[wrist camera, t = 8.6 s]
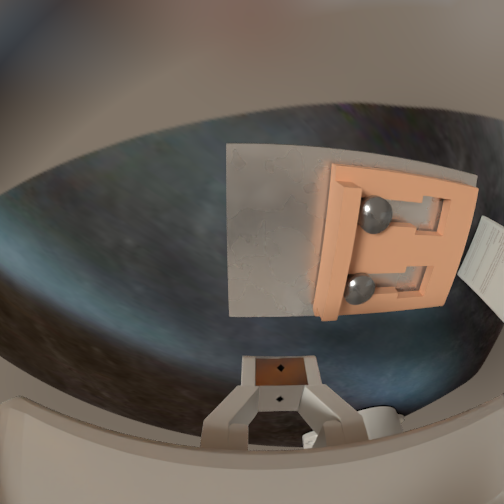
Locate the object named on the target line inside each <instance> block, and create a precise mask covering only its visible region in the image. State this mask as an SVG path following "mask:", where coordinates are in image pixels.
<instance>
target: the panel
mask: <svg viewBox="0 0 504 504" xmlns="http://www.w3.org/2000/svg"><path fill="white" fill-rule="evenodd" d="M478 190H479V189H478V188H476V187H474V186H471V185H467V184H463V183H458V182H454V181H449V180H444V179H439V178H434V177H429V176H424V175H418V174H412V173H406V172H400V171H393V170H386V169H379V168H371V167H363V166H354V165H345V164H334V163H332V167H331V179H330V189H329V199H328V208H327V217H326V225H325V233H324V240H323V248H322V255H321V262H320V268H319V275H318V281H317V287H316V293H315V299H314V304H313V312H314V315H315V316H320V317H321V320H322V321H335V320H337V318H338V315H351V314H366V313H378V312H390V311H400V310H410V309H419V308H428V307H436V306H443V305H444V303H445V301H446V298H447V296H448V293H449V291H450V288H451V286H452V283H453V280H454V277H455V275H456V272H457V269H458V266H459V263H460V260H461V257H462V254H463V251H464V248H465V244H466V241H467V237H468V234H469V230H470V226H471V222H472V218H473V214H474V210H475V205H476V200H477V195H478ZM371 195H377V196H380V197H382V198H384V199H387V200H398V201H407V202H416V203H422V200H423V196H430V197H437V198H443V199H444V201H443V206H442V211H441V216H440V220H439V224H438V228H437V232H435V231H418V230H416V229H417V228H416V227H415V226H414V225H412V224H411V223H402V222H390V224H389V226H388V227H387V228H386V229H385V230H384V231H382V232H380V233H378V234H370V233H367V232H365V231H364V230H363V229H362V228H361V227H360V226H359V224H358V215H359V209H360V202H361V197H364V198H366V197H368V196H371ZM407 266H427V268H426V271H425V274H424V277H423V280H422V283H421V286H420V289H419V290H418V291H403V292H398V291H397V290H396V289H395V287H375V291H374V294H373V295H372V297H371V298H370V299H369V300H368V301H366V302H365V303H363V304H359V305H352V304H349V303H348V302H347V301H346V300H345V298H344V296H343V293H344V289H345V284H346V280H347V275H348V274H356V273H366V274H380V273H405V271H406V267H407Z"/></svg>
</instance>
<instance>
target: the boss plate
mask: <svg viewBox="0 0 504 504" xmlns="http://www.w3.org/2000/svg"><path fill="white" fill-rule="evenodd" d="M332 163H334V164H345V165H354V166H363V167H371V168H379V169H386V170H393V171H400V172H406V173H412V174H418V175H424V176H429V177H434V178H439V179H444V180H449V181H454V182H458V183H463V184H467V185H471V186H474V187H476V182H477V175H474V174H472V173H468V172H465V171H461V170H457V169H453V168H449V167H445V166H441V165H437V164H432V163H428V162H423V161H418V160H413V159H408V158H402V157H397V156H391V155H385V154H379V153H372V152H365V151H357V150H349V149H341V148H331V147H321V146H309V145H294V144H275V143H227V144H226V184H227V255H228V293H229V317H285V316H315V315H314V312H313V304H314V299H315V293H316V287H317V281H318V275H319V268H320V262H321V255H322V248H323V240H324V233H325V225H326V217H327V208H328V199H329V189H330V179H331V167H332ZM443 201H444V199H443V198H437V197H430V196H423V200H422V203H416V202H407V201H398V200H387V199H384V198H382V197H380V196H377V195H371V196H368V197H366V198H364V197H361V202H360V209H359V215H358V224H359V226H360V227H361V228H362V229H363V230H364V231H365V232H367V233H370V234H378V233H380V232H382V231H384V230H385V229H386V228H387V227H388V226H389V224H390V222H402V223H411V224H412V225H414V226H415V227H416V228H417V229H416V230H418V231H435V232H437V228H438V224H439V220H440V216H441V211H442V206H443ZM426 268H427V266H407V267H406V271H405V273H380V274H366V273H356V274H348V275H347V280H346V284H345V289H344V293H343V296H344V298H345V300H346V301H347V302H348V303H349V304H352V305H359V304H363V303H365V302H366V301H368V300H369V299H370V298H371V297H372V295H373V294H374V291H375V287H395V289H396V290H397V291H398V292H403V291H418V290H419V289H420V286H421V283H422V280H423V277H424V274H425V271H426Z"/></svg>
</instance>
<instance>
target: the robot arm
mask: <svg viewBox="0 0 504 504" xmlns="http://www.w3.org/2000/svg"><path fill="white" fill-rule="evenodd" d="M258 411H298V412H299V414H300V415H301V416H302V417H303V418H304V420H305V421H306V422H307V423H308V424H309V426H310V427H311V428H312V429H313V430H314V431H312V432H309V433H306V434H304V435H303V436H302V440H303V449H296V450H295V449H294V450H267V451H266V450H248V425H249V424H250V422H251V421H252V419H253V418H254V417H255V415H256V414H257V412H258ZM404 420H405V419H404V416H403V415H401V414H397V412H396V410H395V409H394V408H392V407H387V406H381V407H373V408H368V409H364V410H360V411H356V410H355V409H353V408H352V407H351V406H350V405H349V404H348V403H346V402H345V401H344V400H343V399H342V398H341V397H339V396H338V395H337V394H336V393H335V392H334V391H332V390H331V389H330V388H329V387H328V386H327V385H326V384H322V382H321V378H320V373H319V369H318V364H317V360H316V357H315V356H284V357H267V356H243V358H242V376H241V386H237V387H236V388H235V389H234V390H233V391H232V392H231V393H230V394H229V395H228V396H227V397H226V398H225V399H224V400H223V401H222V403H221V404H220V405H219V406H218V407H217V408H216V409H215V410H214V411H213V412H212V413H211V414H210V415H209V416H208V417H207V418H206V419H205V420H204V423H203V429H202V436H201V442H200V447H195V446H187V445H179V444H173V443H167V442H161V441H156V440H151V439H145V438H141V437H137V436H132V435H128V434H124V433H120V432H117V431H113V430H109V429H105V428H102V427H99V426H96V425H93V424H90V423H87V422H84V421H81V420H78V419H75V418H72V417H70V416H67V415H64V414H62V413H60V412H57V411H55V410H52V409H50V408H48V407H45V406H43V405H41V404H38V403H36V402H34V401H32V400H30V399H28V398H25V397H23V396H16V397H14V398H11V399H9V400H7V401H5V402H3V403H1V404H0V504H504V393H503V394H501V395H499V396H497V397H495V398H493V399H491V400H489V401H487V402H485V403H483V404H481V405H478V406H476V407H474V408H472V409H470V410H467V411H465V412H462V413H460V414H457V415H455V416H452V417H449V418H447V419H444V420H441V421H438V422H435V423H433V424H429V425H426V426H423V427H420V428H416V429H413V430H410V431H406V432H403V429H402V425H401V424H402V423H403V422H404Z"/></svg>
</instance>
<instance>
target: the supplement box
mask: <svg viewBox="0 0 504 504" xmlns="http://www.w3.org/2000/svg"><path fill="white" fill-rule="evenodd" d="M457 275H458V276H459V277H460V278H461V279H462V280H463V281H464V282H465V283H466V284H467V285H468V286H469V287H470V288H472V289H473V291H474V292H475V293H476V294H477V295H478V296H479V297H480V298H481V299H482V300H483V301H484V302H485V303H486V304H487V305H488V306H489V307H490V308H491V309H492V310H493V311H494V312H495V314H496V315H497V316H498V317H499V318H500V319H501V320H502V321H503V322H504V227H503V226H502V225H500V224H498V223H496V222H495V221H493V220H491V219H489V218H487V217H485V216H483V215H482V217H481V220H480V222H479V225H478V228H477V230H476V233H475V235H474V238H473V240H472V243H471V245H470V247H469V250H468V252H467V254H466V256H465V259H464V261H463V263H462V265H461V267H460V269H459V271H458V273H457Z"/></svg>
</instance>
